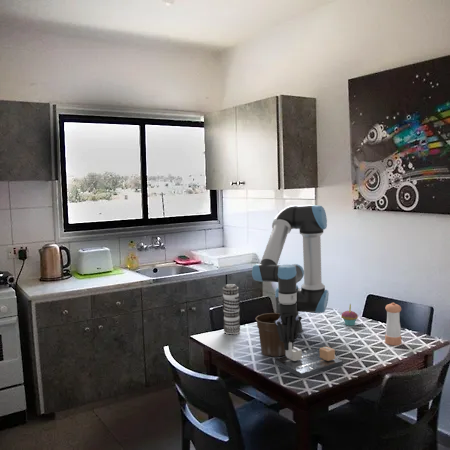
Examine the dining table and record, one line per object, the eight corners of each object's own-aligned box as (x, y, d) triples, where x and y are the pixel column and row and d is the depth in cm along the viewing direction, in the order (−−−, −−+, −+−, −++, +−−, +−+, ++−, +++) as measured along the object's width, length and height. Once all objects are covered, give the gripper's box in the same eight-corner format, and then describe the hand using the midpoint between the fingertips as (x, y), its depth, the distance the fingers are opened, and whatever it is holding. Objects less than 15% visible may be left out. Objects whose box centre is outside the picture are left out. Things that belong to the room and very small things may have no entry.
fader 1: (286, 357, 207) (286, 347, 207) (294, 355, 209) (294, 345, 209) (294, 361, 203) (294, 351, 202) (301, 359, 205) (301, 349, 204)
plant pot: (249, 350, 224) (248, 316, 222) (278, 343, 231) (277, 310, 230) (269, 361, 210) (268, 325, 208) (299, 353, 217) (298, 318, 216)
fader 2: (319, 357, 206) (319, 347, 205) (326, 355, 208) (326, 345, 207) (327, 361, 202) (327, 351, 201) (335, 358, 204) (334, 349, 203)
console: (274, 363, 207) (274, 358, 207) (314, 352, 218) (313, 347, 218) (301, 378, 192) (301, 372, 191) (342, 365, 203) (342, 360, 203)
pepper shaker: (382, 343, 227) (382, 303, 225) (389, 339, 232) (389, 299, 230) (397, 346, 222) (397, 305, 220) (404, 342, 227) (404, 302, 225)
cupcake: (359, 326, 252) (359, 304, 251) (343, 327, 252) (343, 304, 251) (355, 321, 261) (355, 299, 259) (339, 322, 261) (339, 300, 260)
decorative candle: (237, 328, 256) (235, 282, 253) (243, 333, 247) (242, 285, 245) (220, 331, 253) (219, 284, 250) (227, 336, 244) (225, 287, 241)
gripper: (280, 306, 196) (282, 363, 198) (305, 301, 202) (306, 356, 205) (269, 302, 202) (271, 357, 204) (294, 297, 208) (295, 350, 211)
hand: (289, 356), depth 205 cm, fingers closed
